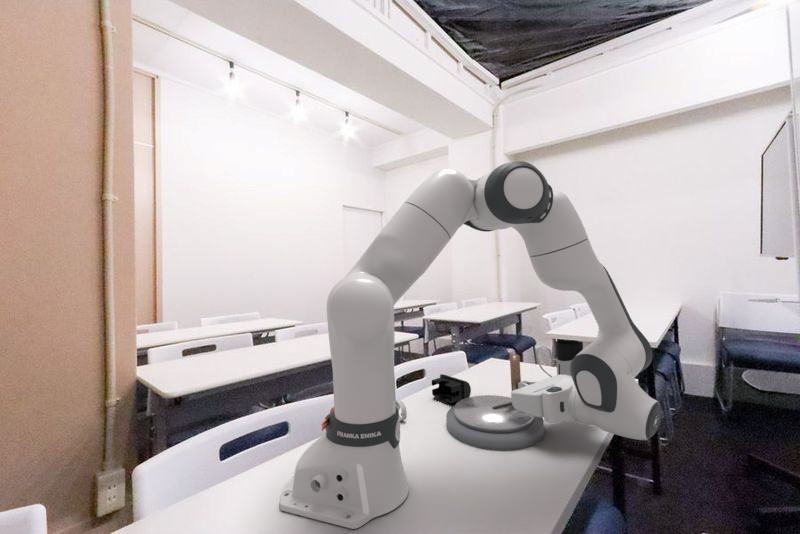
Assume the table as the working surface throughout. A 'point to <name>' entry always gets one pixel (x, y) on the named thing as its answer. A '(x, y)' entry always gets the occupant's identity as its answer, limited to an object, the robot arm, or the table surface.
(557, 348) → the glass holder
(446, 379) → the end cap
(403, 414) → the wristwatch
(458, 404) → the dial
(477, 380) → the table surface
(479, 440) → the base
